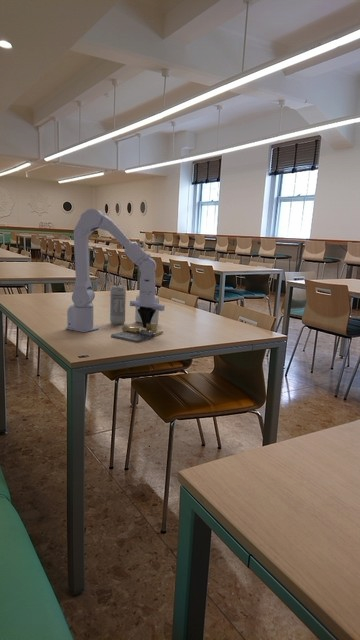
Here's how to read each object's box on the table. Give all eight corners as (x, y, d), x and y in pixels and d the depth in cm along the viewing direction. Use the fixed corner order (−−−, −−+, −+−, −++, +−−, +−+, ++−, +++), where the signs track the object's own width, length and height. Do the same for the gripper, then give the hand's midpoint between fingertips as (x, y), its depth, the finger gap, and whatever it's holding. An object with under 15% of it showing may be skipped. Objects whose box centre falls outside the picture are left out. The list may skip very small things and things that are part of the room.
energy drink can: (126, 322, 171) (127, 286, 168) (123, 325, 165) (123, 288, 162) (112, 321, 171) (112, 285, 168) (108, 324, 165) (108, 287, 162)
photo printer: (159, 324, 171) (161, 294, 168) (154, 325, 167) (155, 295, 165) (139, 320, 176) (140, 291, 173) (133, 322, 172) (134, 292, 170)
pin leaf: (111, 336, 146) (111, 330, 145) (128, 332, 154) (128, 325, 154) (140, 343, 139) (140, 336, 139) (157, 338, 147) (157, 331, 147)
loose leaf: (121, 332, 153) (121, 322, 152) (137, 328, 161) (138, 318, 160) (147, 337, 146) (147, 327, 146) (163, 333, 155) (163, 323, 154)
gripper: (169, 292, 151) (168, 328, 154) (138, 288, 158) (137, 322, 161) (158, 294, 145) (157, 331, 148) (126, 289, 153) (125, 325, 155)
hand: (146, 327), depth 154 cm, fingers closed
